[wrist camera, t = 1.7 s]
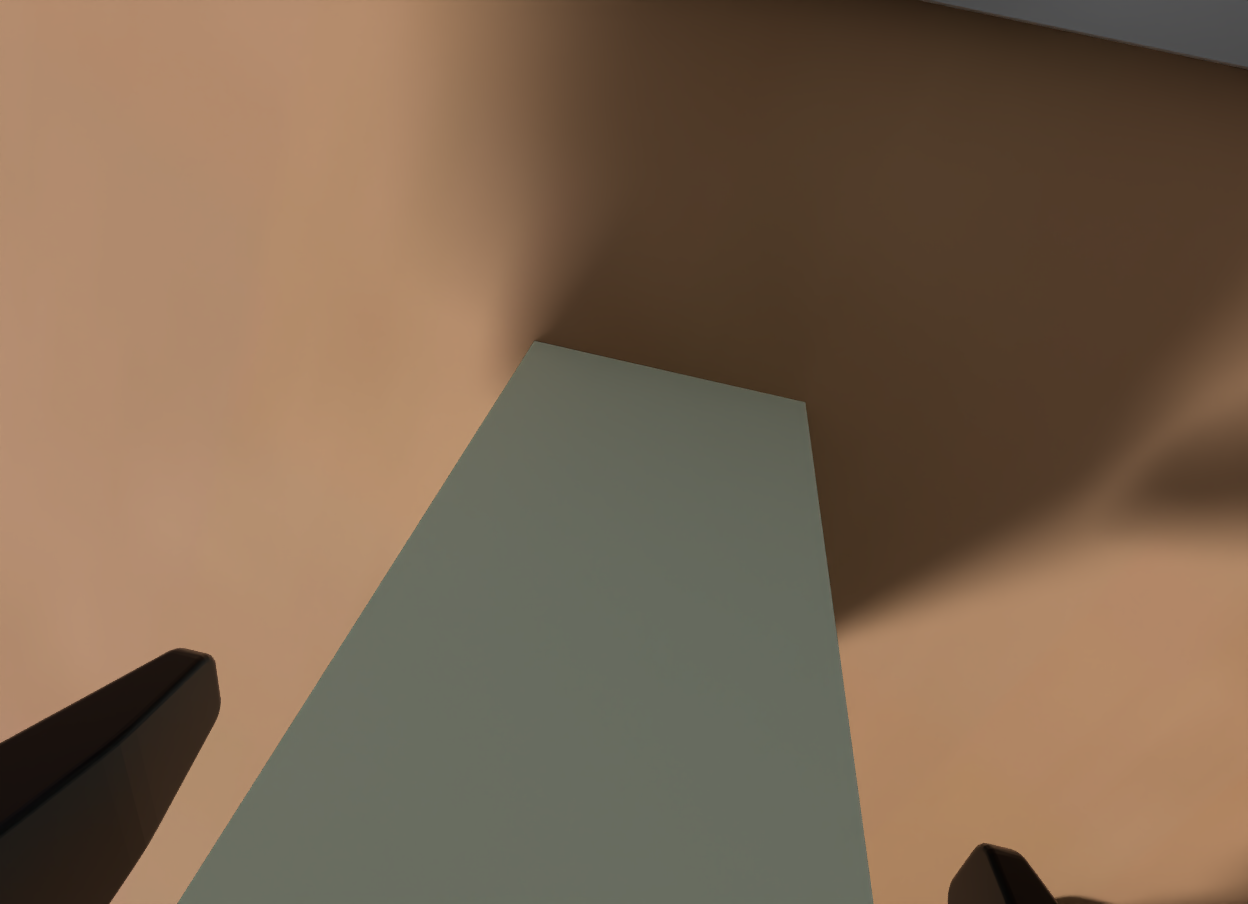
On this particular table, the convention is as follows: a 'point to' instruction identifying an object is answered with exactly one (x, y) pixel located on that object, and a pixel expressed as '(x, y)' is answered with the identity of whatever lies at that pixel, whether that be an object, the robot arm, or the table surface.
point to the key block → (580, 674)
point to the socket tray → (1137, 23)
